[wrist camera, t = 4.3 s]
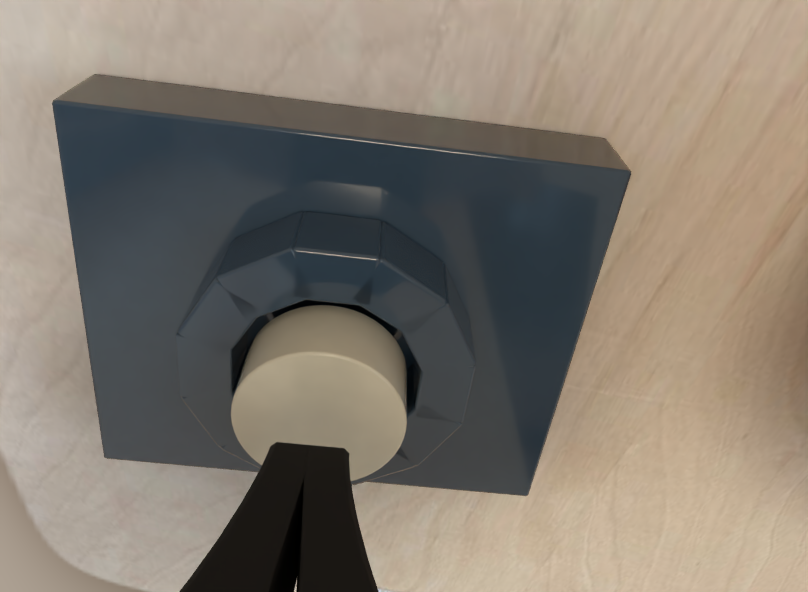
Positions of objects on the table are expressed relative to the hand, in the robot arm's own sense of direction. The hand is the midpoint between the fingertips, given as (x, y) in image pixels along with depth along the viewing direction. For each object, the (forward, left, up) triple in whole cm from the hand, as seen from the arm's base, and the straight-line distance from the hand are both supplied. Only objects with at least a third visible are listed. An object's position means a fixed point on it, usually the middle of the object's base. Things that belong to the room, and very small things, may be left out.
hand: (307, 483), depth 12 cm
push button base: (0, 0, -7) cm, 7 cm away
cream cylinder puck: (0, 0, -3) cm, 3 cm away
